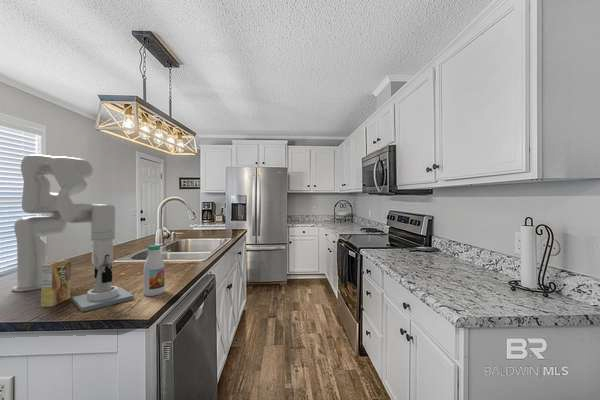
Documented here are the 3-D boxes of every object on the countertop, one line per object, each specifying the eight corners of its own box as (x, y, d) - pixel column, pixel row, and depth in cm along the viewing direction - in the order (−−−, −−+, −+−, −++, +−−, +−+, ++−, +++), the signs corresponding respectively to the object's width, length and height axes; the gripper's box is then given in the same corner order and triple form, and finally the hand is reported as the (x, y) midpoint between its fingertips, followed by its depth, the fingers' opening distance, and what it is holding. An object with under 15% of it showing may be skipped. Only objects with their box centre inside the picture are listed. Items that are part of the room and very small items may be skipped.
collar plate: (72, 300, 104) (72, 290, 104) (120, 290, 116) (120, 281, 116) (81, 311, 93) (81, 300, 93) (133, 299, 105) (133, 289, 105)
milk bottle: (140, 297, 107) (141, 247, 108) (146, 291, 115) (146, 244, 115) (162, 295, 109) (162, 246, 110) (166, 289, 117) (166, 243, 117)
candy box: (59, 298, 106) (59, 259, 106) (71, 298, 107) (71, 259, 107) (40, 307, 97) (40, 264, 98) (53, 306, 98) (53, 264, 98)
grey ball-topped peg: (89, 298, 102) (89, 264, 102) (103, 293, 108) (103, 260, 108) (101, 299, 101) (102, 264, 101) (115, 294, 107) (115, 261, 107)
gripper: (85, 235, 107) (85, 278, 107) (97, 238, 96) (97, 286, 96) (108, 233, 113) (107, 274, 113) (122, 236, 102) (121, 282, 102)
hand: (103, 279), depth 105 cm, fingers open, 9 cm apart
